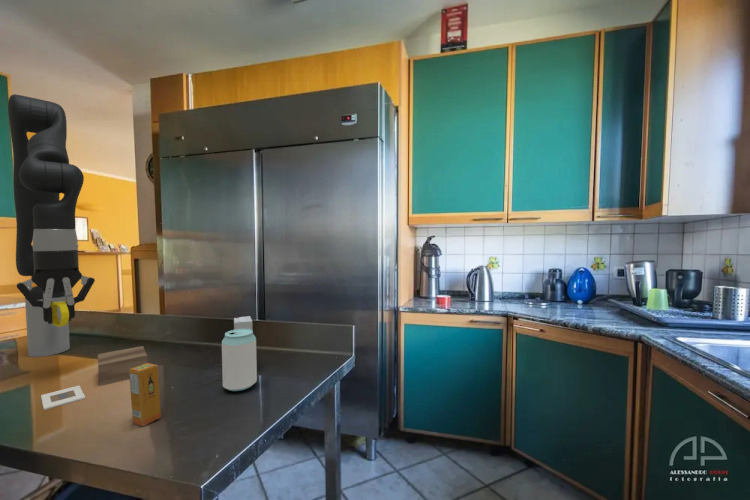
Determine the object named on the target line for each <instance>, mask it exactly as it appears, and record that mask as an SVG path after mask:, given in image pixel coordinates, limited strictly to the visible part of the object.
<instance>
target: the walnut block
mask: <svg viewBox="0 0 750 500" xmlns="http://www.w3.org/2000/svg"><path fill="white" fill-rule="evenodd" d="M97 363H98V364H97V367H98V369H97V372H98V387H102V386H106V385H111V384H115V383H119V382H123V381H128V380H130V376H129V369H132V368H135V367H137V366H140V365H143V364H146V363H148V355H147V352H146V350H145V348H144V345H142V346H136V347H135V346H134V347H130V348H129V347H128V348H125V349H120V350H119V349H118V350H113V351H109V352H108V351H107V352H103V353H98V354H97Z"/></svg>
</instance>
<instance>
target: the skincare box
mask: <svg viewBox="0 0 750 500" xmlns="http://www.w3.org/2000/svg"><path fill="white" fill-rule="evenodd" d="M236 329H250V330H252V331H253V332H254V329H253V320H252V318H251V316H250V315H249V316H239V317H234V318H233V330H236Z"/></svg>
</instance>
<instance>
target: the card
mask: <svg viewBox="0 0 750 500" xmlns="http://www.w3.org/2000/svg"><path fill="white" fill-rule="evenodd" d="M40 399H41V404H42V408H43V411H46V410H49V409H53V408H57V407H60V406H65V405H66V404H70V403H73V402H74V403H76V402H78V401H82V400H85V399H86V396H85V394H84V392H83V390H82V388H81V386H80V384H79V385H76V386H71V387H67V388H64V389H60V390H56V391H52V392H48V393H44V394H41V395H40Z"/></svg>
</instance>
